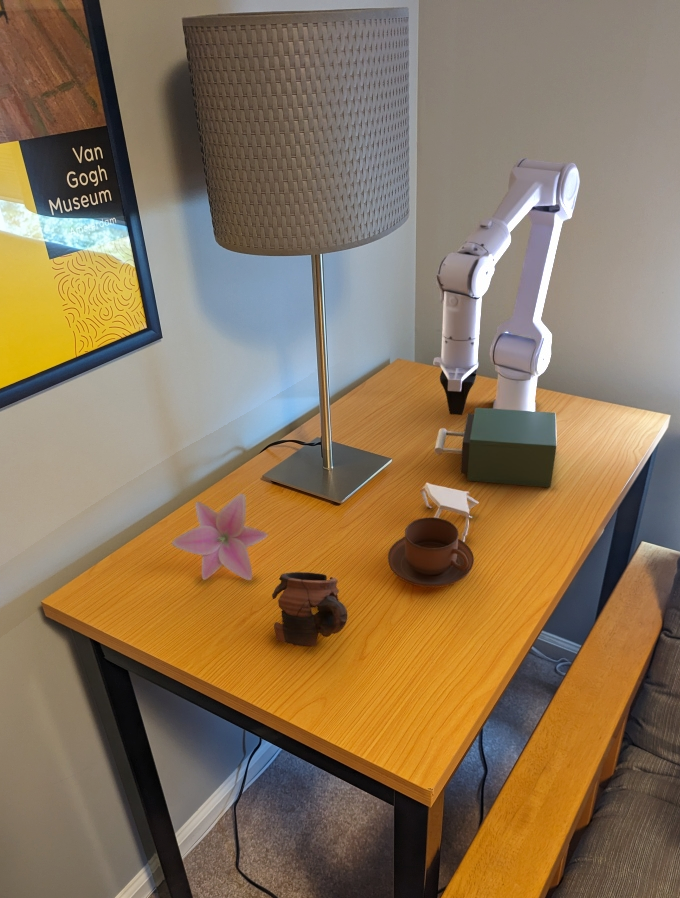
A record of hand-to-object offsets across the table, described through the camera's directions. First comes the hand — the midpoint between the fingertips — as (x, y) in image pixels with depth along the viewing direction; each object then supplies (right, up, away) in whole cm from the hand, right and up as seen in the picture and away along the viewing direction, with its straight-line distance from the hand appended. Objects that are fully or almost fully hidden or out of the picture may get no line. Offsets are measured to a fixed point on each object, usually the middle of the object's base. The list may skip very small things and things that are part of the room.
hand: (456, 413), depth 123 cm
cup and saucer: (-6, -25, -18) cm, 31 cm away
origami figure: (-3, -18, -9) cm, 20 cm away
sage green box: (+10, -9, +4) cm, 13 cm away
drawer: (+6, -7, +4) cm, 10 cm away
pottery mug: (-22, -32, -27) cm, 47 cm away
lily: (-35, -25, -16) cm, 46 cm away
